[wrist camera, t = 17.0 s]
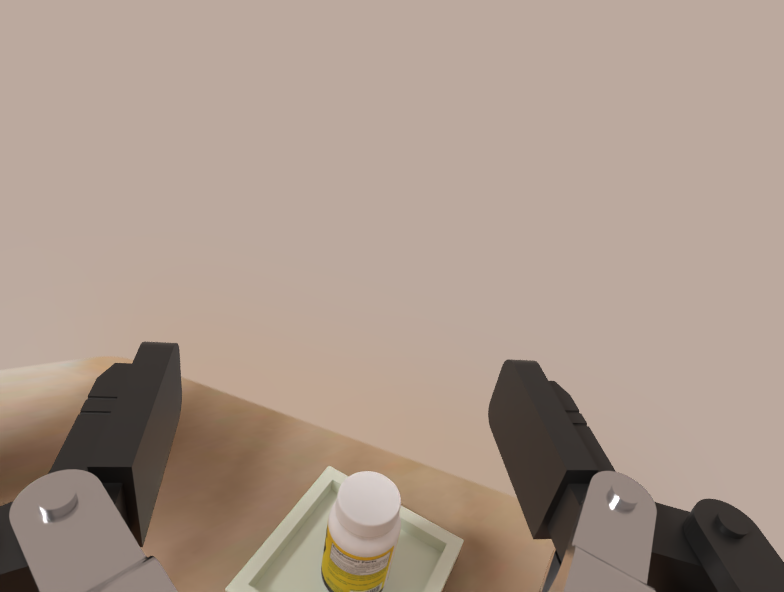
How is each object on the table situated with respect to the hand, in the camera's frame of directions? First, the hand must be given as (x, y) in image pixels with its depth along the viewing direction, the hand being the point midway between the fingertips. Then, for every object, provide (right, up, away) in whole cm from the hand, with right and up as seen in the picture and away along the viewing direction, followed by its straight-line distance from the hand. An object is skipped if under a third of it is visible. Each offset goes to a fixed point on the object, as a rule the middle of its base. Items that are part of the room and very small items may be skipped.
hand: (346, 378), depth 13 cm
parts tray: (-2, -18, +24) cm, 30 cm away
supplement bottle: (-2, -18, +24) cm, 30 cm away
